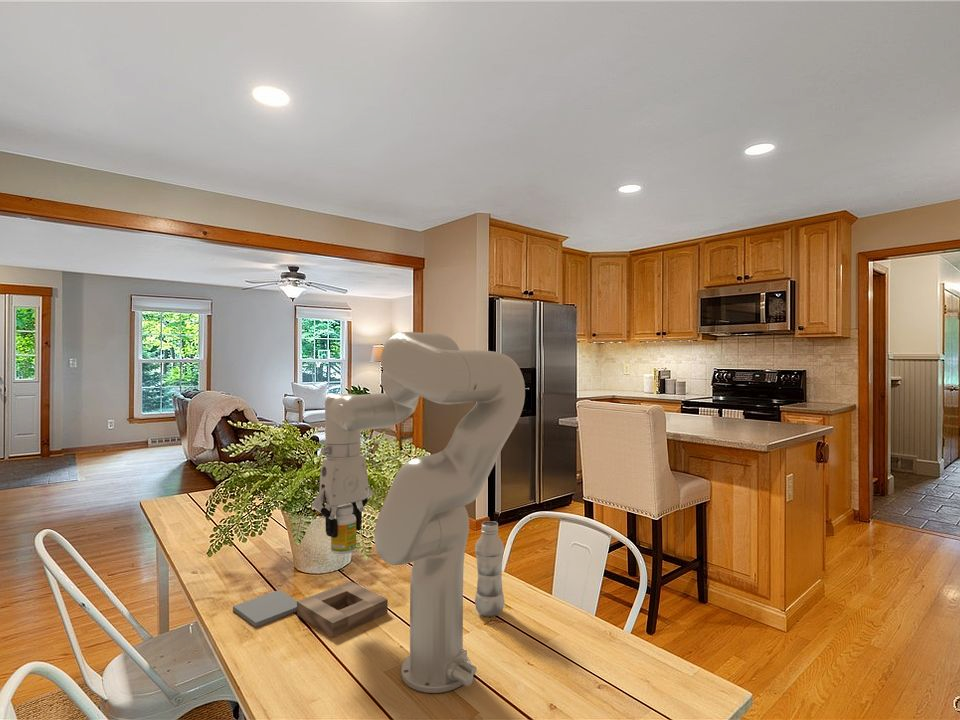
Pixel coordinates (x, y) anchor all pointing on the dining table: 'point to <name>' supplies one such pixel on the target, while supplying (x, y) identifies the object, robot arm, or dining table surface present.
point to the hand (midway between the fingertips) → (343, 531)
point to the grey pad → (266, 608)
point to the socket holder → (336, 622)
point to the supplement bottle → (344, 530)
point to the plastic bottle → (489, 571)
